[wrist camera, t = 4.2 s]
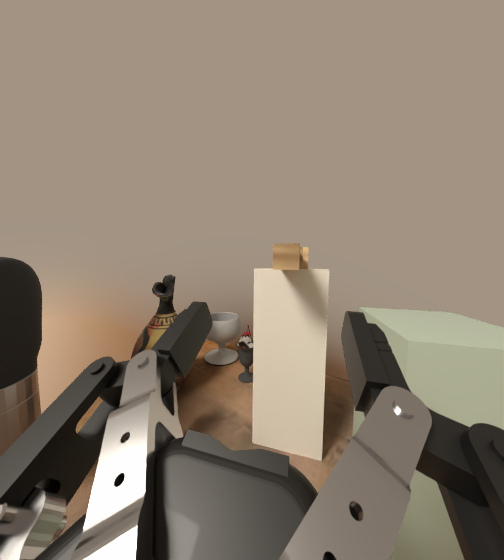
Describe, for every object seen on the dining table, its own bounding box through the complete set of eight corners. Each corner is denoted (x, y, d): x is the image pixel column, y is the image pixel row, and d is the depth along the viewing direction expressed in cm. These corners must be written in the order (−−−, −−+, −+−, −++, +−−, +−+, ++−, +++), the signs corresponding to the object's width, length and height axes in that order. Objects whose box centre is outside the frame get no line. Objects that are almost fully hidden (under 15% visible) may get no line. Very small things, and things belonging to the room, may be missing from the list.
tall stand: (321, 461, 31) (329, 269, 28) (252, 442, 34) (254, 268, 31) (315, 401, 44) (320, 268, 42) (266, 392, 47) (268, 268, 45)
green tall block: (562, 671, 15) (610, 359, 13) (390, 601, 18) (408, 340, 16) (437, 478, 28) (452, 312, 26) (351, 457, 31) (359, 307, 29)
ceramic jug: (194, 401, 44) (193, 276, 42) (120, 414, 40) (114, 277, 38) (196, 364, 60) (195, 273, 58) (143, 371, 56) (140, 274, 54)
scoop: (312, 270, 20) (313, 233, 20) (260, 269, 22) (260, 235, 22) (306, 268, 42) (307, 251, 41) (280, 268, 43) (280, 251, 43)
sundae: (252, 369, 58) (252, 322, 57) (261, 381, 52) (262, 329, 51) (232, 373, 55) (232, 325, 54) (240, 387, 49) (240, 332, 48)
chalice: (232, 371, 57) (232, 323, 56) (193, 363, 61) (192, 319, 60) (246, 351, 70) (246, 312, 69) (213, 346, 74) (213, 310, 73)
